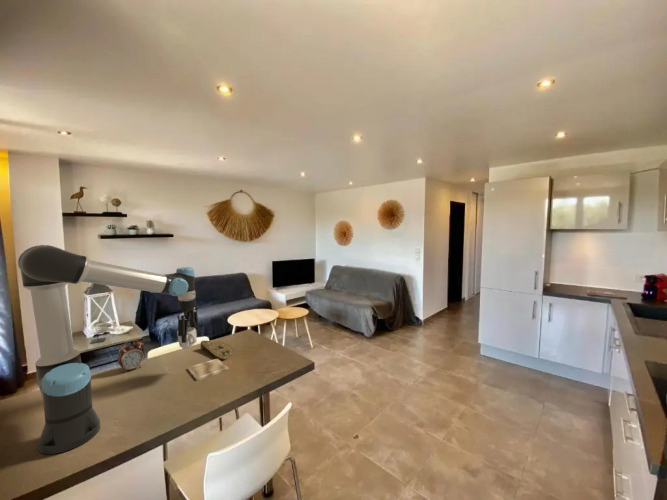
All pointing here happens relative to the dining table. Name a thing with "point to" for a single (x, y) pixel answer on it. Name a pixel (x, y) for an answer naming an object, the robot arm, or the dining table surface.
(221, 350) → the decorative stone
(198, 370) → the board
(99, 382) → the dining table surface
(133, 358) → the alarm clock
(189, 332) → the cup
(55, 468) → the dining table surface
